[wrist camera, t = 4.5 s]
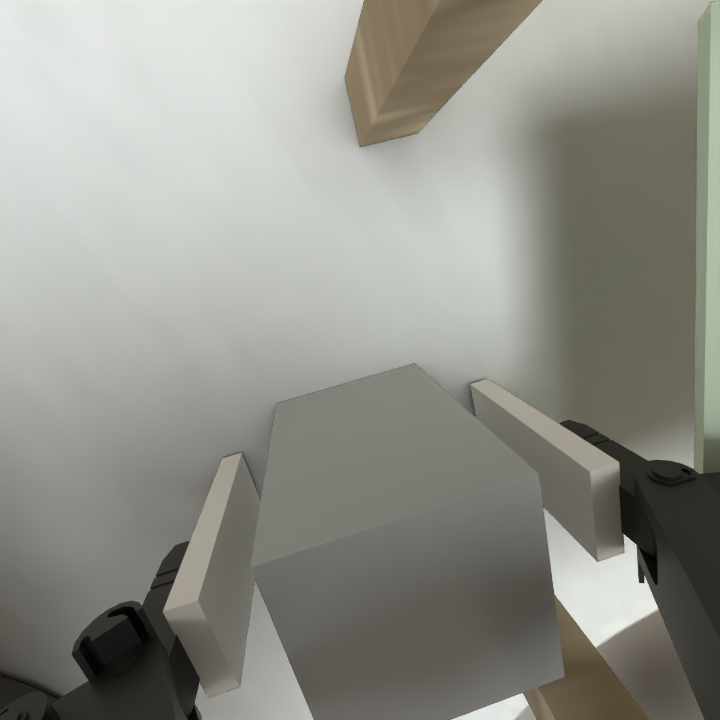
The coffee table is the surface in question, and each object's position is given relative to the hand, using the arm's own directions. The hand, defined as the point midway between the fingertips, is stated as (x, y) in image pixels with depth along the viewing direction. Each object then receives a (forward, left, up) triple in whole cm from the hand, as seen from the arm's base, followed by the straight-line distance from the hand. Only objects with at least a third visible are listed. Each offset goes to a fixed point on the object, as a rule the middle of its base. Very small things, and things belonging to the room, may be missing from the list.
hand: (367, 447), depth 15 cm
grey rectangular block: (0, 0, +4) cm, 4 cm away
